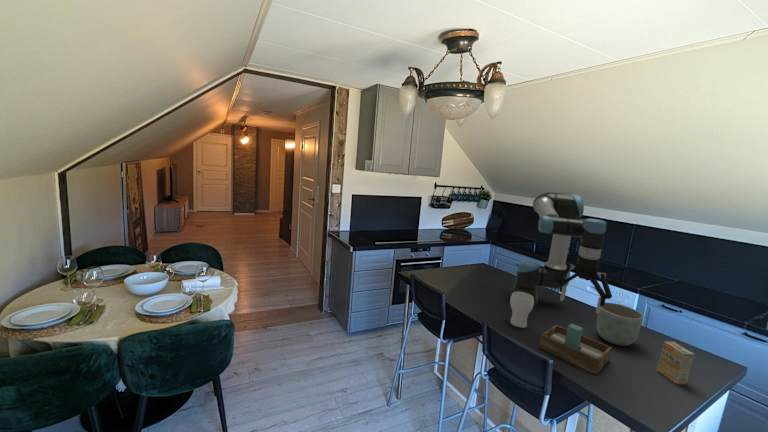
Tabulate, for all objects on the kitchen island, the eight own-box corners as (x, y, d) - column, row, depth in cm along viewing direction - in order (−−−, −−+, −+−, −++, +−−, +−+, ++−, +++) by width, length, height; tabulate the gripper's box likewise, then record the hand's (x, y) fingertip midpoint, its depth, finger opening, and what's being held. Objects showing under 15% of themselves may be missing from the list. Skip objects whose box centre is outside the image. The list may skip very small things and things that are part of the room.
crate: (554, 336, 151) (556, 324, 150) (609, 360, 135) (611, 347, 134) (538, 347, 141) (540, 334, 140) (596, 374, 125) (598, 360, 124)
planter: (628, 336, 158) (635, 306, 155) (643, 354, 142) (650, 322, 139) (588, 328, 163) (594, 299, 160) (598, 345, 147) (605, 313, 144)
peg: (567, 349, 141) (571, 323, 139) (578, 354, 138) (583, 327, 136) (562, 352, 139) (567, 326, 137) (574, 357, 135) (579, 330, 133)
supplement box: (655, 370, 130) (663, 340, 128) (666, 371, 131) (674, 341, 129) (675, 385, 122) (683, 353, 120) (687, 385, 123) (695, 353, 121)
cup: (532, 330, 155) (537, 301, 153) (509, 327, 157) (513, 297, 155) (527, 320, 166) (531, 292, 163) (505, 317, 168) (509, 289, 165)
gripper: (553, 250, 139) (545, 296, 142) (622, 267, 120) (611, 321, 124) (560, 248, 143) (552, 293, 147) (628, 264, 125) (617, 315, 129)
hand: (579, 306), depth 135 cm, fingers open, 13 cm apart
